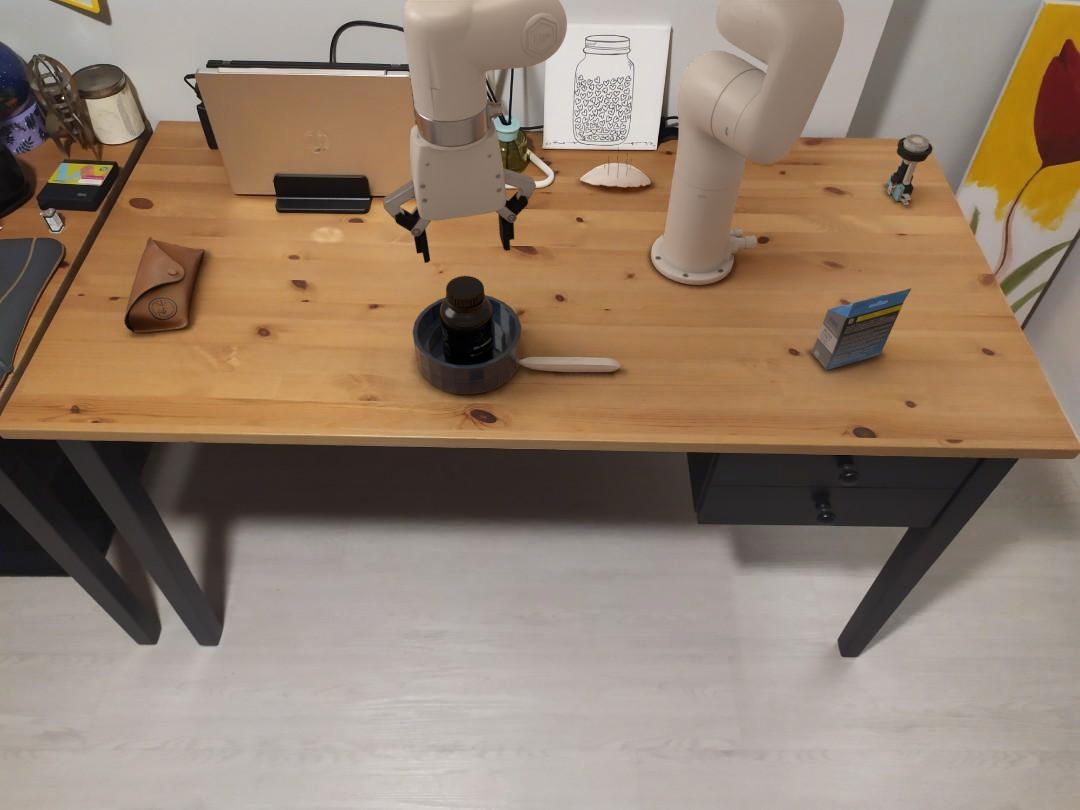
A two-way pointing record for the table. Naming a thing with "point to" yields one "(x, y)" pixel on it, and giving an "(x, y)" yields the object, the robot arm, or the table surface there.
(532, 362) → the pen
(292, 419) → the table surface
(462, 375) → the bowl
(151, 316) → the sunglasses case
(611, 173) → the pincushion
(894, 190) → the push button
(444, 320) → the supplement bottle
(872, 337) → the blue cardboard box
